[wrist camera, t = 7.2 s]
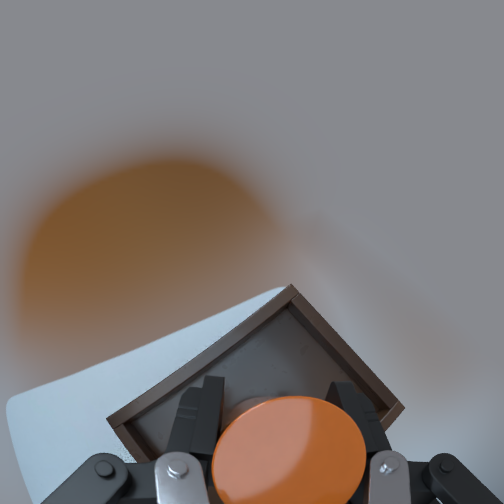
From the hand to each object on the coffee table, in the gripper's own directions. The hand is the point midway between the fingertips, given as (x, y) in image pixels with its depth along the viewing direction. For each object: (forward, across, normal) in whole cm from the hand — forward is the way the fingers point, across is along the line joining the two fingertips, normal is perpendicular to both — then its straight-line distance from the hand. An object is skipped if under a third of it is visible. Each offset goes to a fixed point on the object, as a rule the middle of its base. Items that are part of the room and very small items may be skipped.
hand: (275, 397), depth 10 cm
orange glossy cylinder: (+2, 0, +4) cm, 5 cm away
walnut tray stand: (+15, 0, +18) cm, 23 cm away
